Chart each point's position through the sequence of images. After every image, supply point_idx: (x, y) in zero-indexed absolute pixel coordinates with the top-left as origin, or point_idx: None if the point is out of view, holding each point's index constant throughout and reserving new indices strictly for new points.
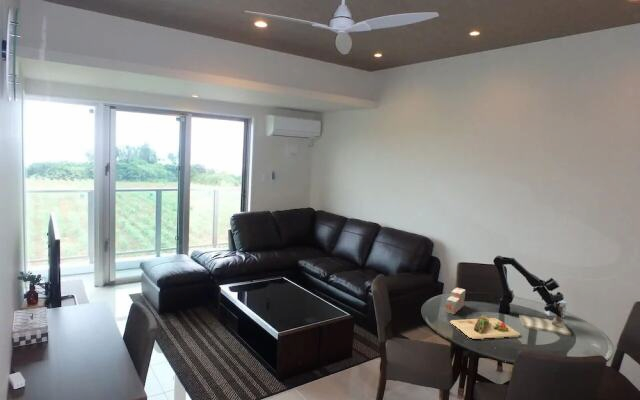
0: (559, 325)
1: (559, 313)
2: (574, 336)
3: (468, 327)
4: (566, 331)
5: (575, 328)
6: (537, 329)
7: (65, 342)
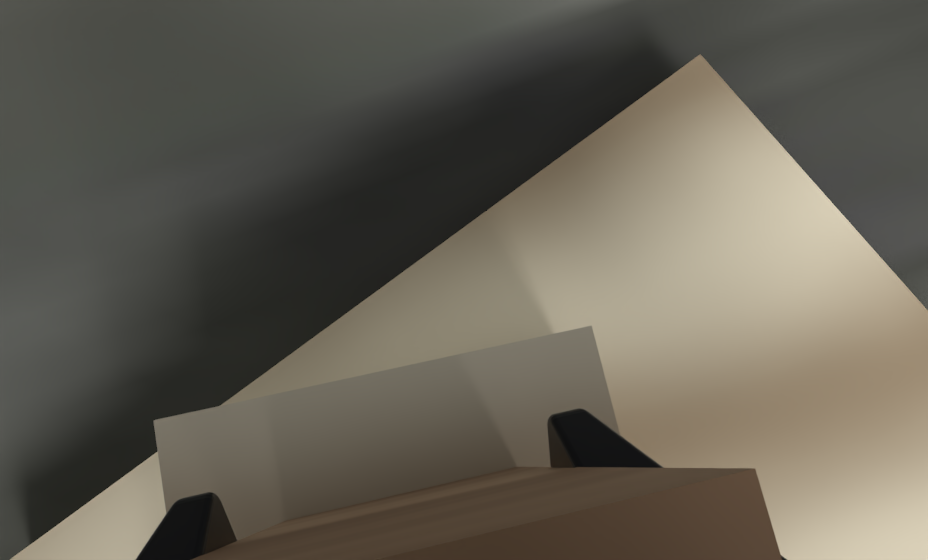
0: None
1: None
2: (618, 19)
3: None
4: (693, 169)
5: (11, 206)
6: None
7: None
